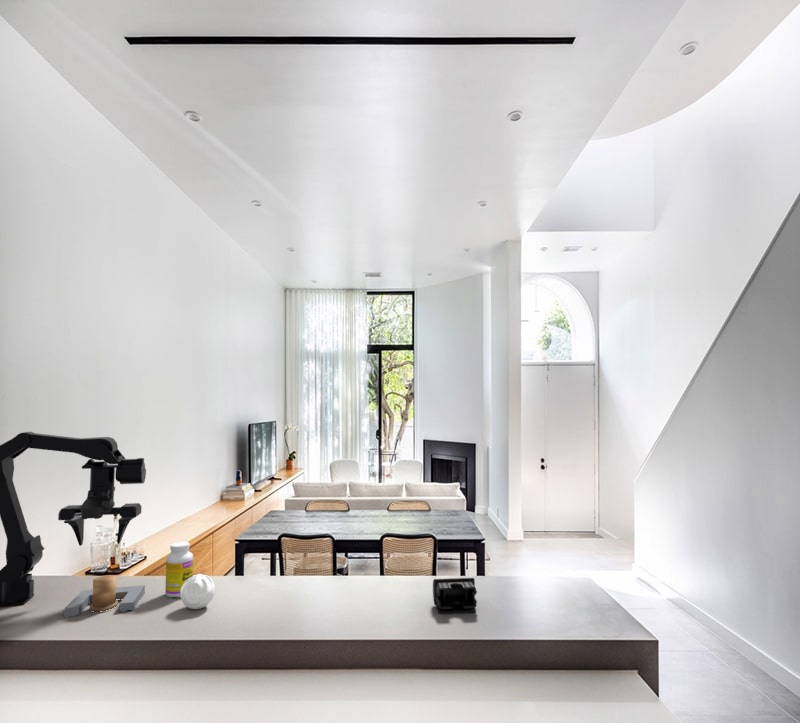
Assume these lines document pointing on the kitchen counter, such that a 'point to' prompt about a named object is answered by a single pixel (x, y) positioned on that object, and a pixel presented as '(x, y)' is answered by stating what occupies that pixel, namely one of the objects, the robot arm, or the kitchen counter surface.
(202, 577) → the white rounded piece
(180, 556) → the supplement bottle
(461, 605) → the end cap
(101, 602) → the wooden drawer knob
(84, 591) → the notched board
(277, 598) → the kitchen counter surface
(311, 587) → the kitchen counter surface
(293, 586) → the kitchen counter surface
